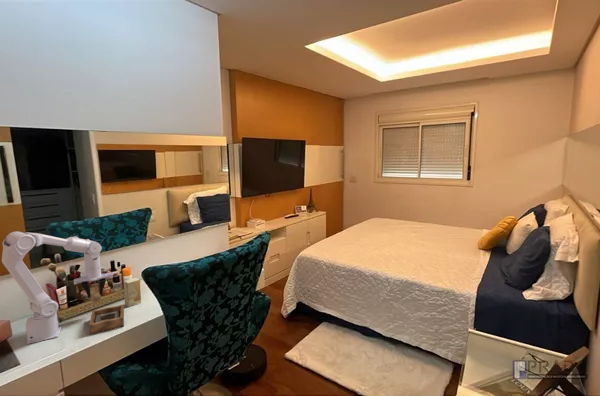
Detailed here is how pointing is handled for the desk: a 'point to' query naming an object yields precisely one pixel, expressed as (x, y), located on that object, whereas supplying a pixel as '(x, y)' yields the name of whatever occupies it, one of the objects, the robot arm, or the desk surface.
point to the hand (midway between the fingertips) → (95, 295)
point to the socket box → (107, 319)
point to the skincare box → (132, 292)
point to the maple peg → (95, 292)
